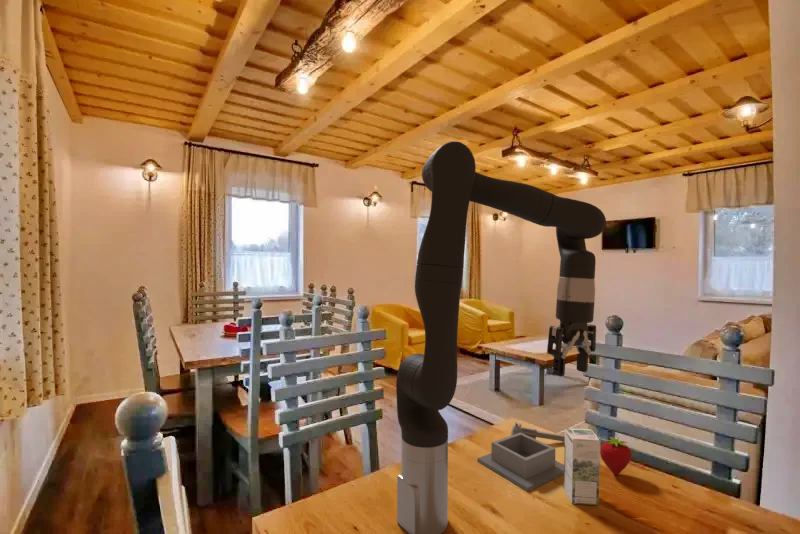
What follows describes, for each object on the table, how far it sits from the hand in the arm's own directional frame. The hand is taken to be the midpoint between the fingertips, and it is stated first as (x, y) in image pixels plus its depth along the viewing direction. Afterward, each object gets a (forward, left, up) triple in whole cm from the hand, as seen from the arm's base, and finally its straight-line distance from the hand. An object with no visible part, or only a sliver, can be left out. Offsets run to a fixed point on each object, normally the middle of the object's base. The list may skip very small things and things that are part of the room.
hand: (570, 373), depth 87 cm
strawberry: (+19, 0, -28) cm, 34 cm away
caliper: (+19, +20, -28) cm, 40 cm away
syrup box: (+3, -1, -28) cm, 28 cm away
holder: (+3, +15, -28) cm, 32 cm away
